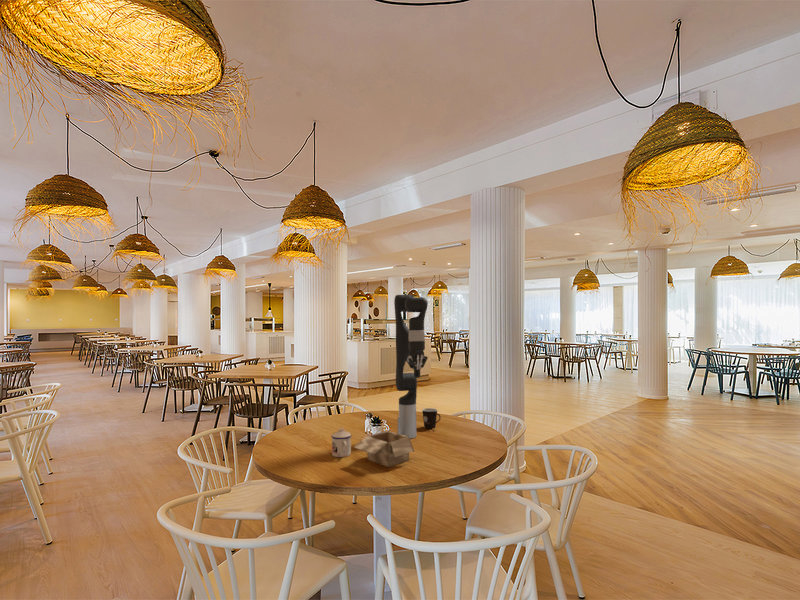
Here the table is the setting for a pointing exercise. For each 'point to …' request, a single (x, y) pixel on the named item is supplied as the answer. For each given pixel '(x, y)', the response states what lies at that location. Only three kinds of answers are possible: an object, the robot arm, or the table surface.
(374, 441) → the front flap
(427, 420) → the coffee mug
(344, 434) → the teacup with lid
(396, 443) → the carton
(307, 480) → the table surface
